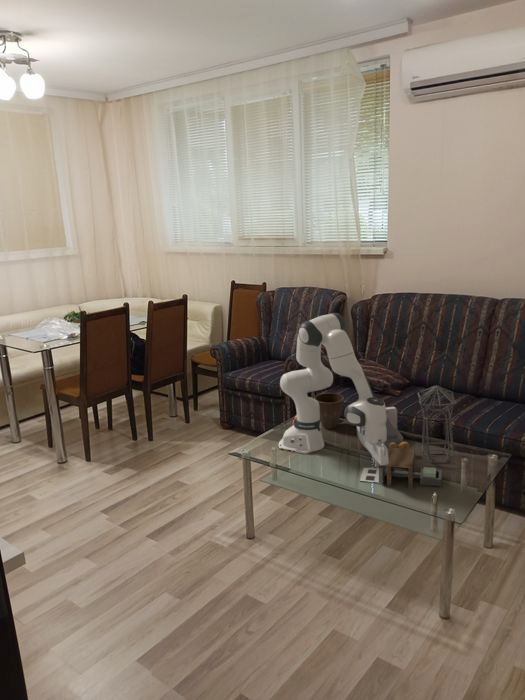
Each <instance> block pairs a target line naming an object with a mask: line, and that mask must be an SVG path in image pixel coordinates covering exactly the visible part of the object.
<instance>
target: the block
mask: <svg viewBox="0 0 525 700" xmlns="http://www.w3.org/2000/svg"><path fill="white" fill-rule="evenodd" d="M422 469H423V477H429V478H436V470H437V469H436V468H435V467H428V466H427V467H426V466H423V468H422Z"/></svg>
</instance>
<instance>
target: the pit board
mask: <svg viewBox="0 0 525 700" xmlns="http://www.w3.org/2000/svg"><path fill="white" fill-rule="evenodd" d="M360 481H368V482H377V483H376V484H378V483H379V484H380V482H379V468H373V467H372V468H371V467H363V469H362V473H361V475H360V479H359V482H360Z"/></svg>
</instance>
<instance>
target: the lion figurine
mask: <svg viewBox="0 0 525 700" xmlns="http://www.w3.org/2000/svg"><path fill="white" fill-rule="evenodd" d="M390 448H402V449H411V445H410V443H409V442H408V441H403V442H402V443H400V444H397V443H394V442H392V443H390V444H389V445H388V446H387V449H388V453H389V452H390Z"/></svg>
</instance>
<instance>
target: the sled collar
mask: <svg viewBox="0 0 525 700" xmlns="http://www.w3.org/2000/svg"><path fill="white" fill-rule="evenodd" d="M378 469H379V483H383V482H384V479H385V478H384V477H385V476H387V465H383V466H381V465H379V467H378ZM391 477H401V478H402V477H403V478H408V471H403V470H395V469H394V470H391ZM413 478H415V479H420V480H419V485H422V486H433V487H442V469H441V470H440V469H436V478H429V477H423V468H421V469H420V472H417V471H416V472H415V471H414V472H412V479H413Z"/></svg>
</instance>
